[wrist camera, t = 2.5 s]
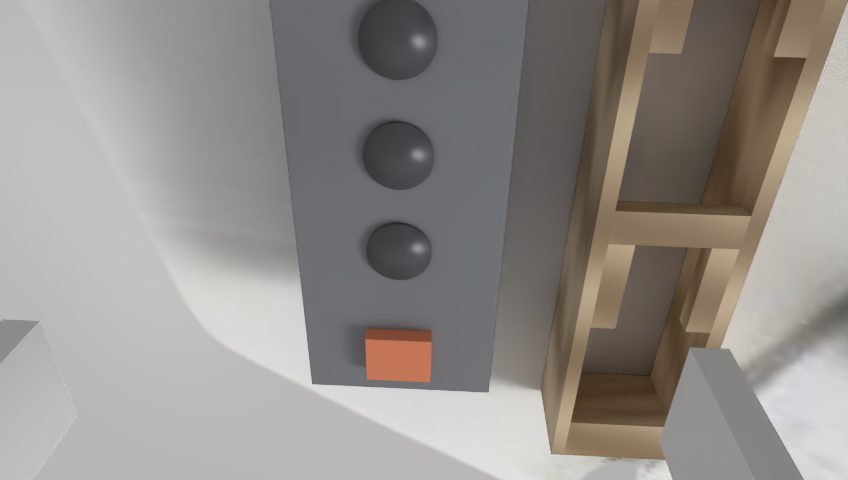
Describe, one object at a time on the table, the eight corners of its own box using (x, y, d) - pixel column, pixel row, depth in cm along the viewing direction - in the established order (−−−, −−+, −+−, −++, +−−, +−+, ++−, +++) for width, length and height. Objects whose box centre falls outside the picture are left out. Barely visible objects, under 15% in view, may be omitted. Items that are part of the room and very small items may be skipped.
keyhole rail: (637, -183, 19) (677, -193, 15) (833, -180, 19) (917, -189, 15) (541, 391, 32) (551, 454, 29) (655, 397, 32) (679, 460, 28)
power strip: (308, -116, 20) (250, -108, 15) (518, -111, 20) (542, -102, 14) (338, 292, 29) (309, 395, 23) (483, 298, 29) (489, 403, 23)
